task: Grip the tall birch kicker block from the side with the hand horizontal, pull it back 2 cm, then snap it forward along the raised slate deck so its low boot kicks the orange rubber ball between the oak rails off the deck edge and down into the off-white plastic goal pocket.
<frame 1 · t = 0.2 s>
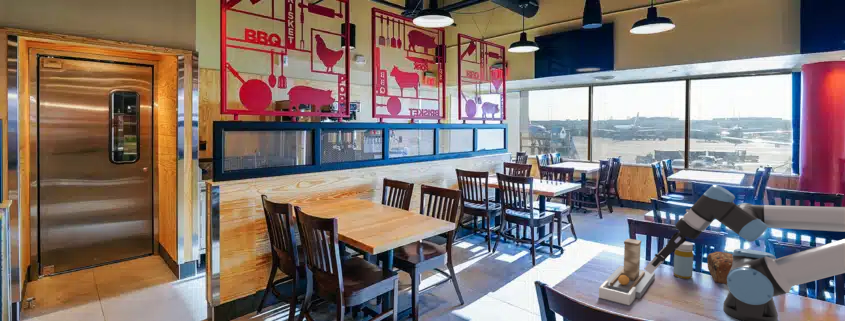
hand: (652, 266, 154), 15 cm above the table, tool tilted 35°, fingers open, 13 cm apart
kicker: (631, 259, 175), point 10 cm above the table, slide at 2.0 cm
deck: (629, 283, 175), on the table
lane rails: (627, 279, 173), resting on deck
bread: (723, 277, 181), on the table
goal: (617, 298, 162), on the table
bottle: (682, 276, 183), on the table
ball: (623, 284, 168), point 2 cm above the table, touching deck
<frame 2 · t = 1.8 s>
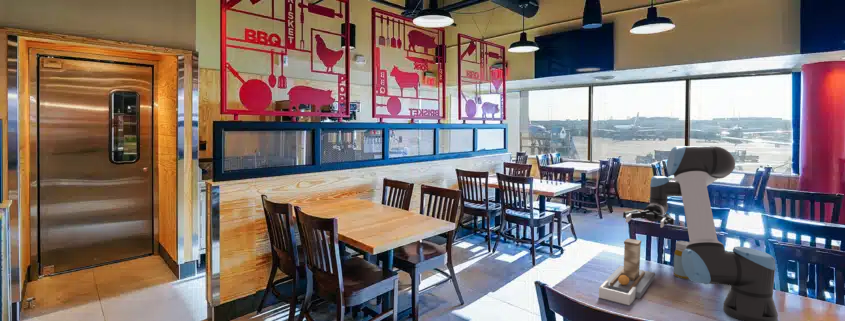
hand: (643, 221, 181), 24 cm above the table, tool horizontal, fingers open, 13 cm apart
nothing on the table moved.
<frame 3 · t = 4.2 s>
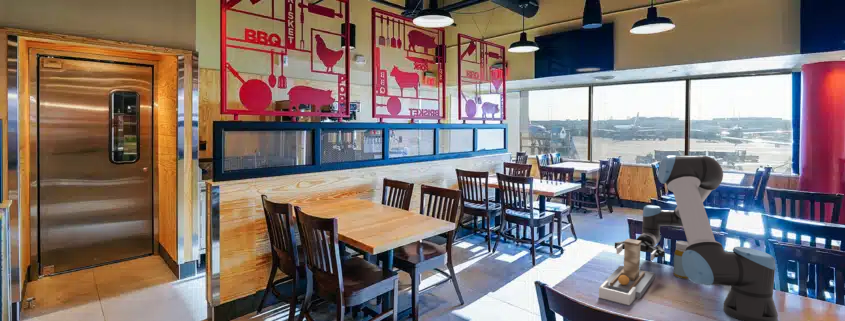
hand: (634, 254, 181), 11 cm above the table, tool horizontal, fingers open, 13 cm apart
nothing on the table moved.
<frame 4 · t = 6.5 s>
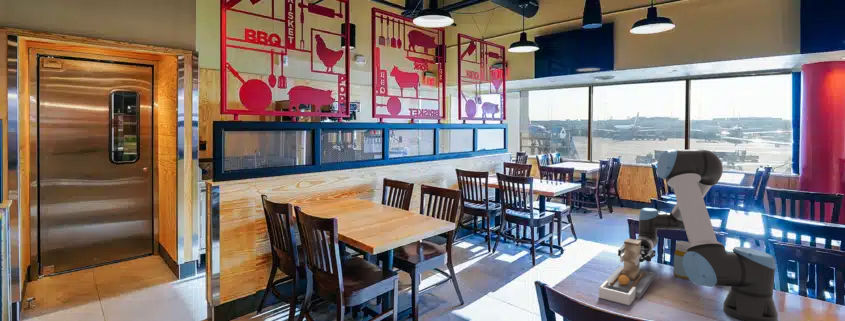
hand: (628, 260, 172), 11 cm above the table, tool horizontal, fingers closed on kicker, 5 cm apart
kicker: (631, 259, 175), point 10 cm above the table, slide at 2.0 cm, touching gripper
everything else where it was.
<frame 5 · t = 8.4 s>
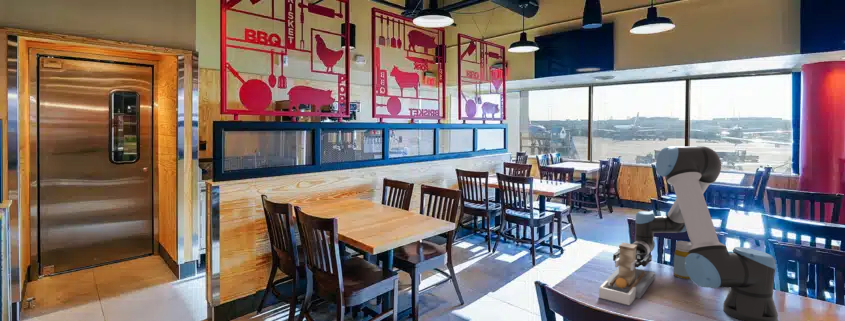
hand: (623, 265, 167), 11 cm above the table, tool horizontal, fingers closed on kicker, 5 cm apart
kicker: (626, 264, 170), point 10 cm above the table, slide at 9.4 cm, touching gripper
ball: (622, 280, 167), point 5 cm above the table, tilted 98°, touching deck
everything else where it was.
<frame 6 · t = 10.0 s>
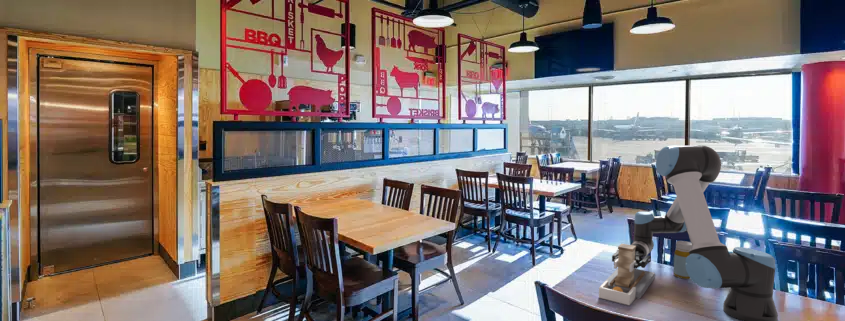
hand: (622, 266, 166), 11 cm above the table, tool horizontal, fingers closed on kicker, 5 cm apart
kicker: (625, 265, 169), point 10 cm above the table, slide at 11.0 cm, touching gripper
ball: (616, 291, 160), point 3 cm above the table, tilted 115°, touching goal
everything else where it was.
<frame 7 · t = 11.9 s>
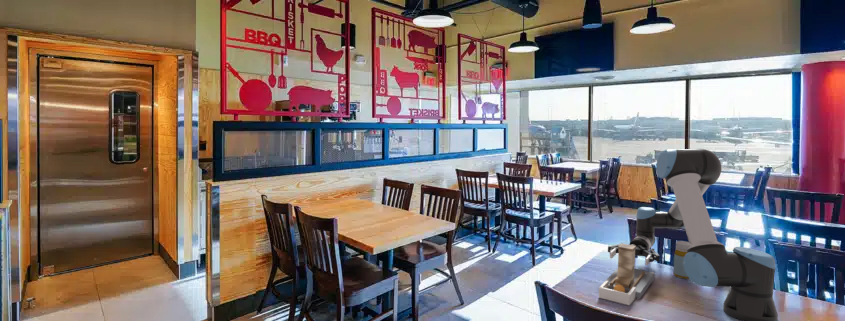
hand: (628, 258, 173), 11 cm above the table, tool horizontal, fingers open, 13 cm apart
kicker: (625, 265, 169), point 10 cm above the table, slide at 10.9 cm
ball: (619, 284, 164), point 4 cm above the table, tilted 175°, touching goal
everything else where it was.
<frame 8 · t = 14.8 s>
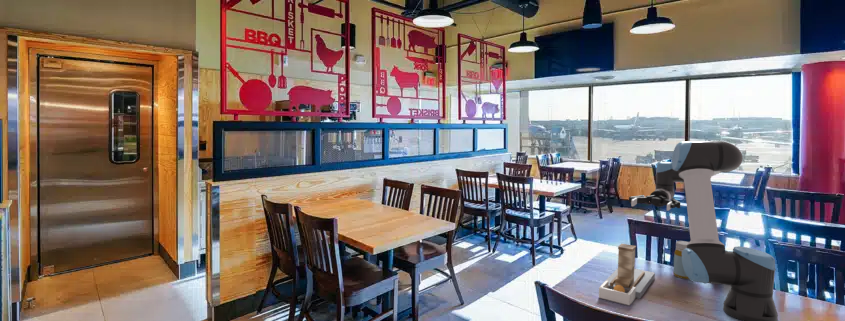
hand: (649, 205, 178), 32 cm above the table, tool horizontal, fingers open, 13 cm apart
at the end: ball inside the target area (2.4 cm from its centre), point 4.4 cm above the table; kicker slide at 10.9 cm; the gripper is holding nothing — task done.
